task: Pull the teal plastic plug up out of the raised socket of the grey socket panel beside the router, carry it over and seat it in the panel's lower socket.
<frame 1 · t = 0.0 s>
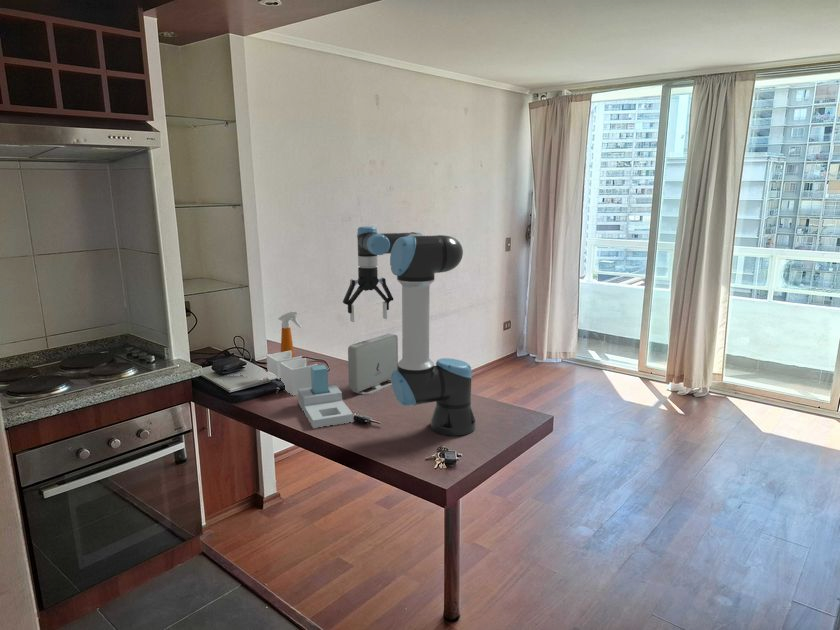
hand: (368, 319, 224), 28 cm above the counter, tool pointing down, fingers open, 13 cm apart
spray bottle: (292, 368, 254), on the counter
panel: (325, 412, 203), on the counter
storage container: (292, 385, 232), on the counter
plug: (320, 398, 209), point 3 cm above the counter, touching panel
network device: (374, 387, 230), on the counter
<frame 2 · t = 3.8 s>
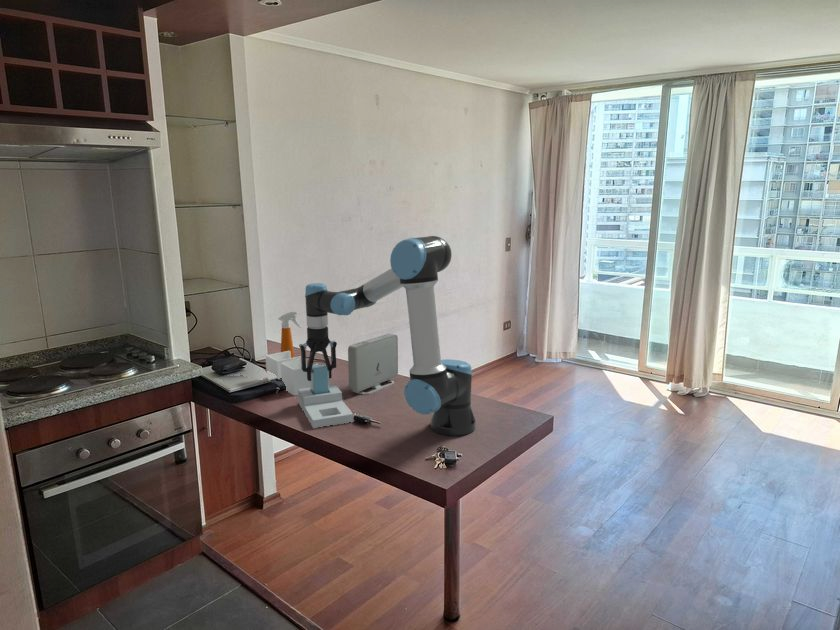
hand: (319, 387, 208), 7 cm above the counter, tool pointing down, fingers closed on plug, 5 cm apart
plug: (320, 398, 209), point 3 cm above the counter, touching gripper, panel
everything else where it was.
when the fingers open (5 cm above the counter, at t = 8.8 s): plug drops 1 cm, resting in panel.
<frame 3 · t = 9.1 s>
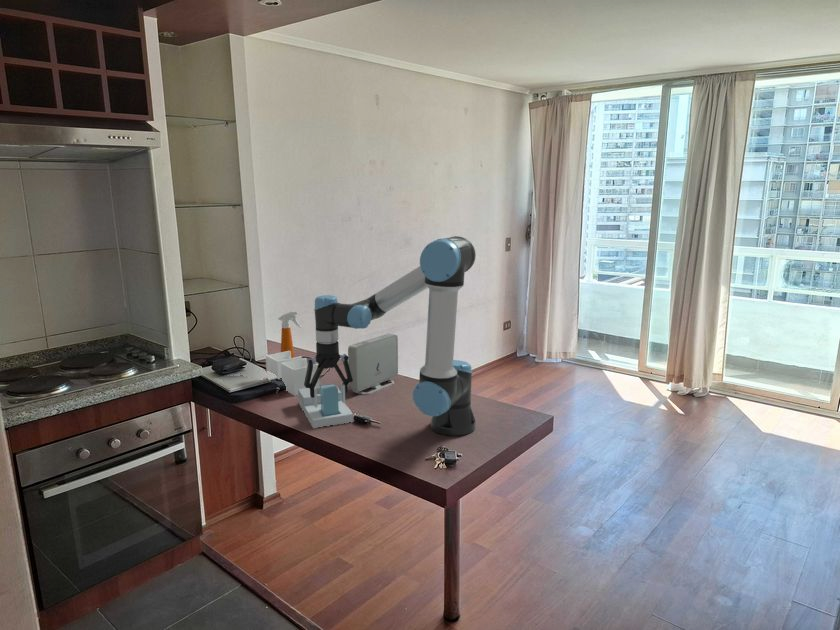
hand: (329, 403, 195), 6 cm above the counter, tool pointing down, fingers open, 9 cm apart
plug: (330, 420, 197), resting in panel
everything else where it was.
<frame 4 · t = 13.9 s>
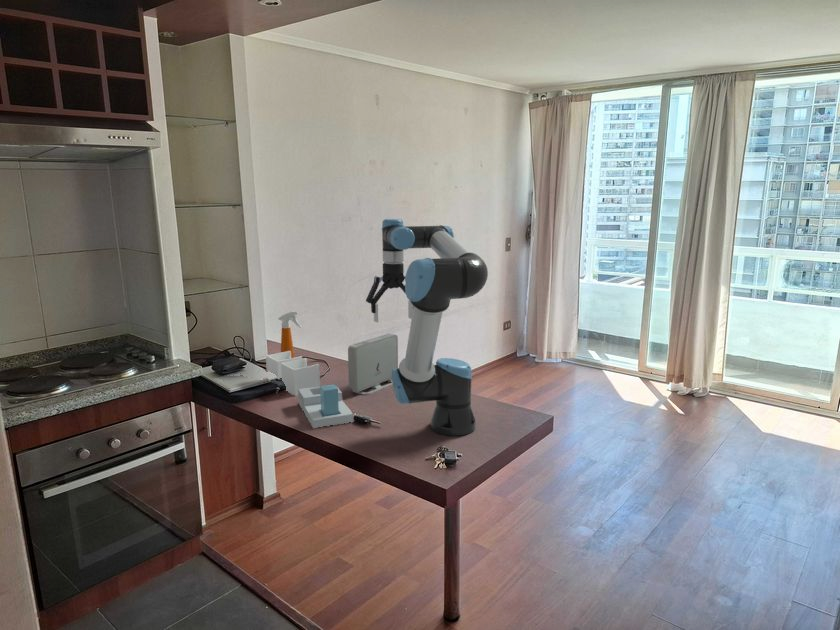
hand: (393, 320, 207), 32 cm above the counter, tool pointing down, fingers open, 13 cm apart
nothing on the counter moved.
at the end: plug 0.0 cm from the target spot on the panel, point 0.0 cm above the panel's base; plug tilted 0°; the gripper is holding nothing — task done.
